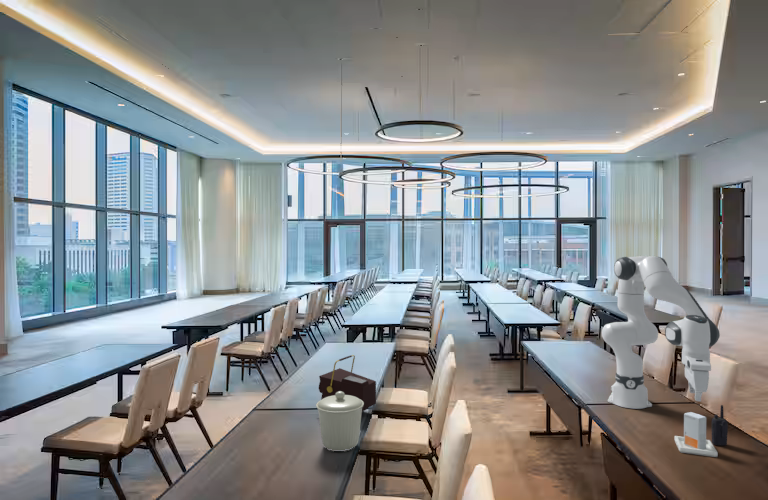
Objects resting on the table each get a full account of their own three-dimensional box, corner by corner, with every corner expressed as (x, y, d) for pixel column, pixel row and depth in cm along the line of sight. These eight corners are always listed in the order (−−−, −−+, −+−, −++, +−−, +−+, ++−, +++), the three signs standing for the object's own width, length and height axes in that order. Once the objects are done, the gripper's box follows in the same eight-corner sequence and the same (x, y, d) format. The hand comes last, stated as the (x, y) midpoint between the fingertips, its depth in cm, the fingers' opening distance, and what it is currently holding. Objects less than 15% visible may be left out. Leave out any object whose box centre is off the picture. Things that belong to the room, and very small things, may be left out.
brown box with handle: (338, 403, 238) (338, 351, 237) (379, 411, 226) (379, 357, 226) (317, 413, 224) (316, 358, 223) (359, 422, 212) (359, 364, 211)
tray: (674, 440, 191) (674, 435, 191) (709, 444, 187) (709, 440, 187) (680, 452, 181) (680, 447, 180) (717, 457, 176) (717, 452, 176)
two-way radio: (723, 442, 189) (723, 403, 189) (731, 447, 184) (732, 407, 184) (709, 442, 189) (709, 403, 188) (717, 447, 184) (717, 407, 184)
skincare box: (683, 444, 186) (683, 413, 186) (691, 442, 187) (691, 411, 187) (698, 450, 180) (699, 418, 180) (706, 449, 182) (706, 416, 182)
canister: (320, 459, 177) (320, 401, 176) (313, 440, 194) (312, 386, 193) (369, 453, 182) (369, 396, 181) (358, 434, 199) (357, 382, 199)
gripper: (680, 352, 194) (679, 387, 194) (691, 366, 175) (690, 404, 175) (699, 353, 192) (698, 389, 192) (712, 367, 173) (711, 406, 173)
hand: (694, 396), depth 184 cm, fingers open, 8 cm apart
